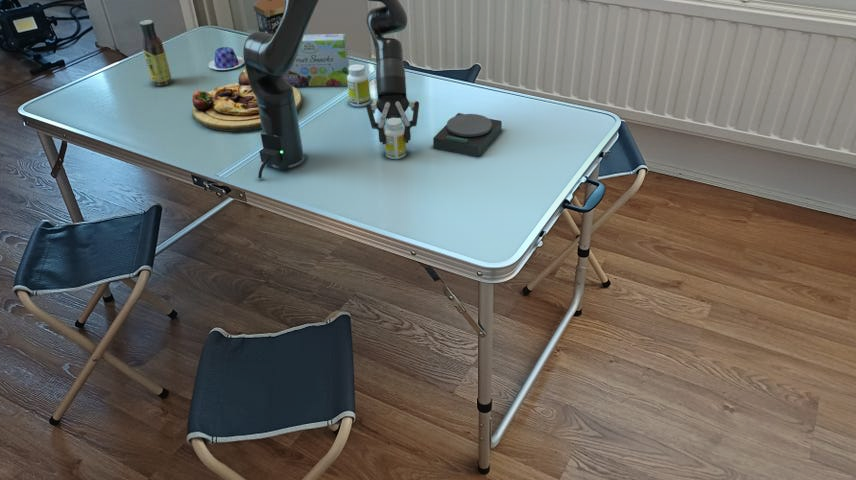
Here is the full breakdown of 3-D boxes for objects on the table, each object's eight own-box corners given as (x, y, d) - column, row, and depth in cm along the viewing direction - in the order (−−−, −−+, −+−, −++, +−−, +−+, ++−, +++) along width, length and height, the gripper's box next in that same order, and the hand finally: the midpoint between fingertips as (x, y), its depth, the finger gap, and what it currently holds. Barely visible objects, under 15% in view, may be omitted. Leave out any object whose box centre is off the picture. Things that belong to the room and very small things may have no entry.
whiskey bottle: (276, 71, 237) (258, -31, 217) (261, 63, 243) (243, -37, 224) (303, 63, 242) (288, -38, 222) (288, 55, 248) (272, -44, 229)
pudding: (219, 75, 236) (216, 59, 233) (202, 65, 244) (198, 49, 241) (251, 64, 243) (248, 49, 239) (234, 55, 250) (231, 40, 247)
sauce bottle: (151, 81, 234) (133, 19, 222) (170, 77, 236) (154, 16, 224) (154, 88, 229) (136, 26, 217) (174, 84, 231) (157, 22, 219)
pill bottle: (372, 98, 218) (368, 63, 211) (368, 107, 213) (365, 71, 207) (351, 98, 219) (347, 62, 212) (347, 107, 214) (343, 71, 207)
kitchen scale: (478, 157, 188) (478, 142, 185) (433, 147, 192) (432, 133, 190) (501, 130, 199) (501, 116, 196) (458, 122, 204) (458, 108, 201)
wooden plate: (181, 136, 203) (174, 108, 198) (206, 89, 228) (200, 63, 223) (296, 130, 203) (291, 103, 198) (307, 84, 228) (304, 58, 223)
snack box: (281, 88, 226) (273, 40, 217) (284, 81, 231) (276, 34, 222) (349, 86, 226) (344, 38, 217) (351, 79, 230) (346, 32, 221)
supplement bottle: (386, 160, 188) (383, 126, 182) (385, 150, 192) (382, 117, 186) (407, 158, 188) (404, 124, 182) (405, 148, 192) (403, 115, 187)
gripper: (362, 75, 184) (366, 140, 182) (418, 72, 185) (423, 136, 183) (364, 87, 192) (368, 149, 189) (418, 83, 192) (423, 145, 190)
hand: (395, 142), depth 186 cm, fingers closed on supplement bottle, 5 cm apart
